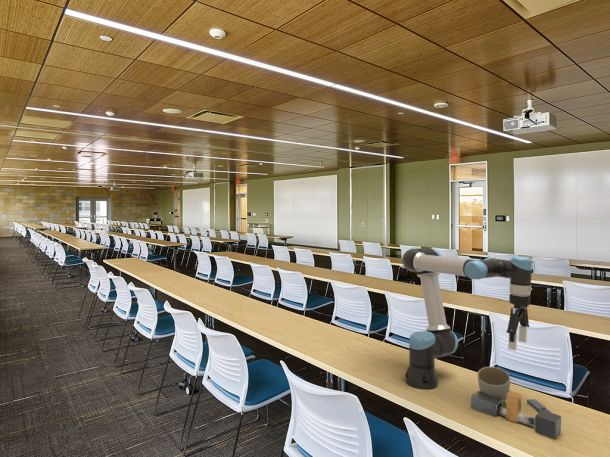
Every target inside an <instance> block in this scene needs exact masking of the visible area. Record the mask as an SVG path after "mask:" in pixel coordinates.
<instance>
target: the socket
mask: <svg viewBox="0 0 610 457" xmlns="http://www.w3.org/2000/svg"><path fill="white" fill-rule="evenodd" d="M534 418H535V427H534V432H535V433H538V434H539V435H542V436H546V437H548V438H551V439H553V440H556V439H557V438H558V437H559V435H560V434H561V432H562V415H559V414H556V413H553V412H551V413H550V412H547V411H544V410H540V411H539V412H537V413H536V415H535V417H534Z"/></svg>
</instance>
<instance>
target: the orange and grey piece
mask: <svg viewBox="0 0 610 457" xmlns="http://www.w3.org/2000/svg"><path fill="white" fill-rule="evenodd" d="M497 416H502V417H505V419H506V420H507V421H510V422H513V423H515V424H518V423H521V424H525V425H527V426H530V427H532V428H535V417H534V416H532V415H528V414H525V413H523V412H522V394H521V393H518V392H515V391H512V390H510V392H509V393H507V400H506V407H504V406H503V407H502V406H499V405H498V406H497Z"/></svg>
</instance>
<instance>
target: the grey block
mask: <svg viewBox="0 0 610 457" xmlns="http://www.w3.org/2000/svg"><path fill="white" fill-rule="evenodd" d="M470 398H471V400H470V408H471V409H472V410H475V411H477V412H480V413H483V414H485V415H489V416H491V417H494V418H498V414H497V406H498V405H499V406H502V407H504V402H503V399H501V398H498V397H494V396H490V395H487V394H485V393H483V392H480V390H477V391H475V392H474V393H473V394H471V396H470Z"/></svg>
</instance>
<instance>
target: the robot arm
mask: <svg viewBox="0 0 610 457" xmlns="http://www.w3.org/2000/svg"><path fill="white" fill-rule="evenodd" d="M401 262H402V265H403V267H404V268H405V270H407V271H408V272H415V273H416V276H417V277H418V278H419V279H420V282H421V283H420V284H421V289H422V293H423V299H424V305H425V311H426V319H427V322H428V326H427V327H426V329H425V330H420V331H415V332H413V333H412V334H411V335H409V342H408V347H409V353H408V355H409V356H408V358H409V359H408V360H409V362H408V367H407V370H406V372H405V374H404V375H405V376H404V378H405V379H404V380H405V381H404V382H405V383H406V384H407V385H409V386H411V387H413V388H417V389H421V390H432V389H435V388H437V387H438V386H439V378H438V375H437V371H436V366H435V365H436V364H435V362H436V361H435V360H436V359H438V358H439V359H440V358H442V357H447V356H450V355H452V354H455V352H456V351H457V349H458V346H459V339H458V336H457V334H455V332H454V331H452V329H451V326H450V325H448V324H447V319H446V314H445V308H444V302H443V297H442V293H441V292H442V291H441V286H440V279H439V275H440V274H448V275H452V276H461V277H467V278H469V279H471V280H482V279H490V278H498V277H499V278H504V279H505V278H506V279H509V280H510V281H509V293H510V294H509V297H508V298H509V299H508V302H509V303H510V304H511V305H513V307H511V308H510V314H509V320H508V325H507V330H506V333H508V345H507V346H508V347H507V348H508V350H511V351H517V342H520V343H526V344H527V335H528V334H527V333H528V328H529V327H530V323H529V322H530V321H529V313H528V307H529V306H530V305H531V296H530V295H531V291H533V288H532V273H533V261H532V259H531V257H528V256H520V255H519V256H518V255H517V256H516V255H515V256H512V257H511V258H510V260H507V259H501V258H500V259H499V258H495V257H491V258H490V257H487V258H485V259H479V260H477V259H469V258H462V257H461V258H460V257H459V258H458V257H450V256H442V254H441V252H440V251H438V250H437V249H436V248H433V247H421V248H420V247H419V248H409V249H408V250H407V251H405V252H404V254H403V255H402V258H401ZM519 324H520V325H519ZM518 328H519V329H518ZM518 330H519V331H518ZM517 331H518V333H517ZM517 339H518V341H517Z"/></svg>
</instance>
